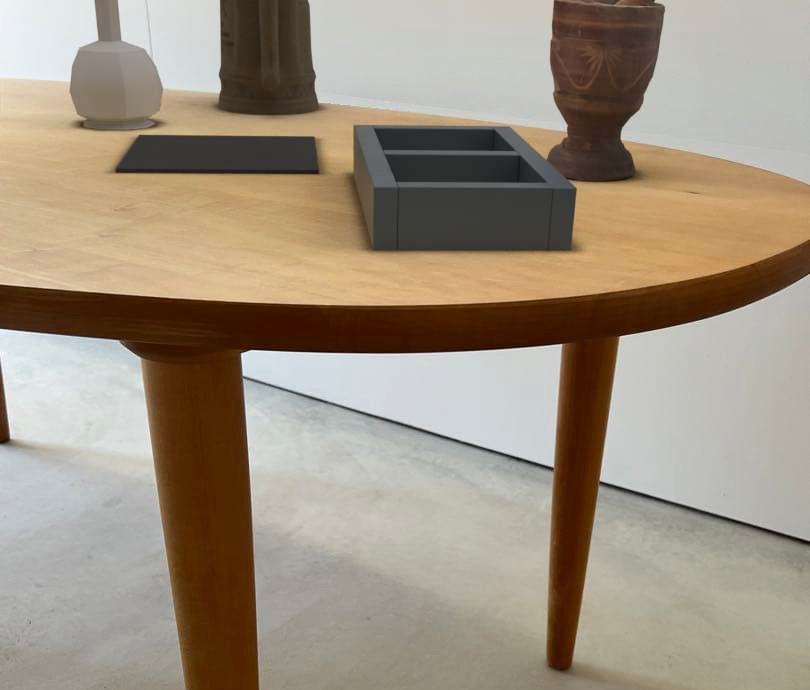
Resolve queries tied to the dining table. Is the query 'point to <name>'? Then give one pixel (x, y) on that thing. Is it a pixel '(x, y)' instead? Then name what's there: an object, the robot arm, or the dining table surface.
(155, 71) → the potion bottle
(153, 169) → the mat
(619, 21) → the mortar and pestle
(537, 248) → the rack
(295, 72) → the beer stein
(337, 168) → the dining table surface
